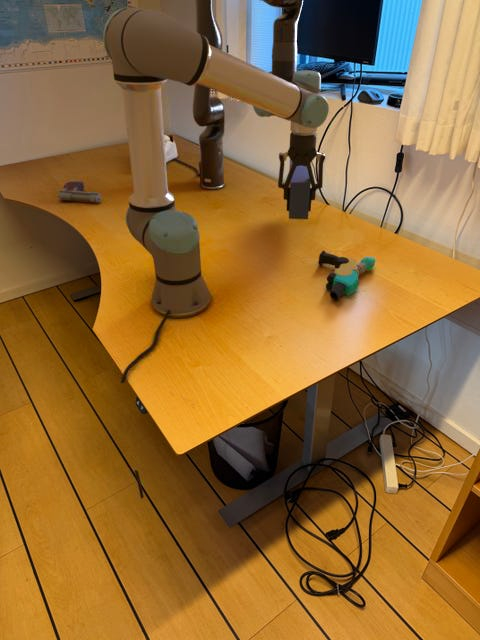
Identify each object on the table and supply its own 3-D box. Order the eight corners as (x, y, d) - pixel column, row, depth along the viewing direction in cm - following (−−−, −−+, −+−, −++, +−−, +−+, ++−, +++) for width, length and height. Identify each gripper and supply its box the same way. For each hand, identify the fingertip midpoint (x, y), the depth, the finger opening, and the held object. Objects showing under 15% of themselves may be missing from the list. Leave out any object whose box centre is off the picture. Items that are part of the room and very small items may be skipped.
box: (307, 219, 147) (310, 182, 140) (288, 218, 147) (290, 182, 140) (305, 191, 166) (307, 157, 159) (288, 191, 166) (289, 157, 159)
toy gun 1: (114, 191, 191) (98, 206, 179) (71, 188, 194) (53, 202, 182) (113, 181, 188) (96, 196, 177) (69, 179, 192) (50, 192, 180)
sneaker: (133, 173, 208) (129, 144, 201) (161, 153, 230) (158, 127, 223) (155, 175, 205) (151, 146, 198) (180, 155, 227) (178, 129, 220)
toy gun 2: (295, 281, 124) (351, 295, 119) (328, 242, 143) (378, 253, 137) (294, 295, 127) (349, 310, 121) (327, 255, 145) (375, 266, 140)
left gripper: (336, 129, 137) (328, 205, 151) (270, 128, 138) (268, 204, 152) (338, 136, 131) (329, 215, 145) (269, 135, 132) (267, 213, 146)
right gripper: (307, 56, 147) (304, 112, 156) (261, 57, 148) (261, 112, 157) (308, 59, 141) (305, 117, 150) (260, 60, 142) (260, 118, 151)
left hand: (298, 209), depth 148 cm, fingers closed on box, 6 cm apart
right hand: (283, 115), depth 154 cm, fingers open, 8 cm apart
